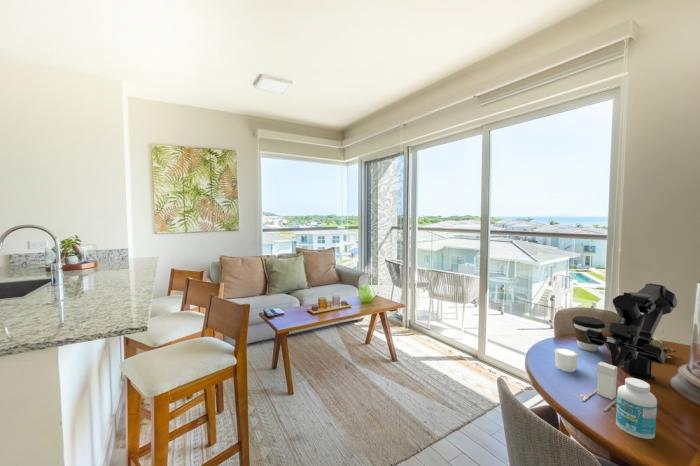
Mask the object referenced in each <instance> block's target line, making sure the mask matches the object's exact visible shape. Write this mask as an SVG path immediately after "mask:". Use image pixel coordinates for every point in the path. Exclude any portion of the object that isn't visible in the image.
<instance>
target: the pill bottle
mask: <svg viewBox="0 0 700 466" xmlns="http://www.w3.org/2000/svg"><path fill="white" fill-rule="evenodd" d="M650 391H651V385H650V384H649V383H648V382H646V381H644V380H642V379H640V378H636V377H626V378H625V379H624V384H623V385H620V386H618V388H617V391H616V398H617V402H616V404H617V405H616V409H617V410H616V412H615V413H616V414H615V415H616V416H615V424H616V426H617V427H618V428H619V429H621V430H622V431H623V432H625V433H627V434H628V435H631V436H633V437H636V438H641V439H647V440H650V439H654V438H655V437H656V429H657V428H656V426H657V424H656V423H657V412H658V411H657V410H658V408H657V407H658V400H657V398H656V396H655V394H653V393H652V392H650Z"/></svg>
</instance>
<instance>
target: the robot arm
mask: <svg viewBox="0 0 700 466" xmlns="http://www.w3.org/2000/svg"><path fill="white" fill-rule="evenodd" d="M612 304H613V307H614V310H615V311H616V314H617V315H618V316H619V318H618V322H613V321H609V324H608V329H607V332H608V333H609V336H610V337H609V336H607V337H606V336H604V334H603V332H600V331H596V330H592V329H588V330H586V332H585V336H586V338H587V340H588V341H589V342H590V343H591V344H595V345H598V347H602V346H604V345H605V346H606V348H607V351H609V352H610V357H611V365H613V366H616V367H618V369H619V368H620V369H621V370H622V371H624V372H626V373H628V374H629V375H631V377H632V378H636V379H640V378H641V379H656V376H654V375H653V374H652V367H653V366H652V365H653V363H655V364H659V365H664V364H665V360H666V359H665V355H664V353H663V350H662V349H661V348H660V347H656V346H654V344H653V338H652V336H653V337H654V334H655V332H656V330H657V328H658V326H659V323H660V322H661V319H662V317H663V315H667V314H668V315H669V314H671V313H672V312H673V310H674V308H677V305H678V300H677V297H676V294H675V293H674V292H672V291H670V290H669V289H667V287H666V285H662V284H657V283H651V282H650V283H646V284H645V285H644V287H643V288H642V289H640V290H639V291H637V292H626V291H625V292H623V294H620V295H617V296H615V297H614V298H613V299H612ZM619 349H620V350H619Z"/></svg>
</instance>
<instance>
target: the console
mask: <svg viewBox="0 0 700 466" xmlns="http://www.w3.org/2000/svg"><path fill="white" fill-rule="evenodd" d="M595 394H597V388H595V389H594V390H593V391H591V392H590V393H589V394H587V395H584V394H582V393H581V394H579V396H581V397H583V398H582V399H581V401H582V402H586V401H587V400H589V398H591V397H593V396H594V395H595ZM613 406H617V397H616V398H614V399H613V400H612V401H611V402H610V403H608V404H607V405H606V406H605V407H604V408H603V409H602V410H603V411H604V412H607V411H608V410H609V409H611V410H613V411H616V410H617V408H615V407H613Z"/></svg>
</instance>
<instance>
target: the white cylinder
mask: <svg viewBox="0 0 700 466" xmlns="http://www.w3.org/2000/svg"><path fill="white" fill-rule="evenodd" d="M554 356H555V357H554V359H555V361H554V362H555V366H556V368H557V369H558V370H561V371H564V372H568V373H573V372H575V371H576V370H577V363H578V358H579V354H578V352H576V351H575V350H572V349H570V348H564V347H556V348H555V349H554Z"/></svg>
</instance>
